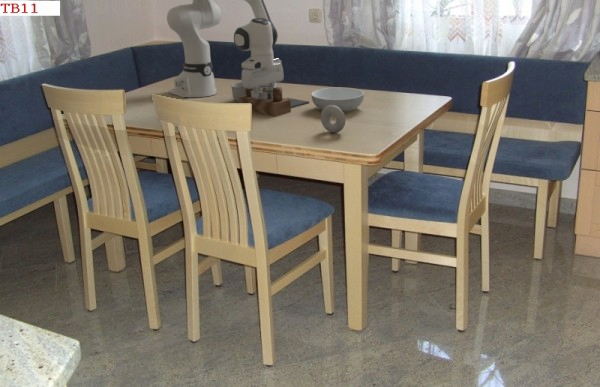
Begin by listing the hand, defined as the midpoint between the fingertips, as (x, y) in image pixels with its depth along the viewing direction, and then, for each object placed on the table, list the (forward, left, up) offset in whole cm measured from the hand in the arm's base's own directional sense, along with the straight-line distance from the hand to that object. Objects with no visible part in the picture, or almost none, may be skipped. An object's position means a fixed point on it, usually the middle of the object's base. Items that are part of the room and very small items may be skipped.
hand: (264, 96), depth 294 cm
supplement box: (-18, +19, -6) cm, 27 cm away
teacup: (-18, +7, -6) cm, 20 cm away
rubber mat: (0, +14, -6) cm, 15 cm away
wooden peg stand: (0, 0, -6) cm, 6 cm away
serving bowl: (+23, +18, -6) cm, 30 cm away
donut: (+43, -9, -6) cm, 44 cm away
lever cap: (0, 0, -1) cm, 1 cm away
